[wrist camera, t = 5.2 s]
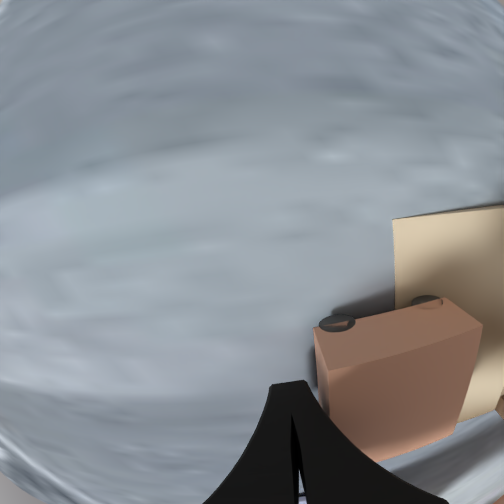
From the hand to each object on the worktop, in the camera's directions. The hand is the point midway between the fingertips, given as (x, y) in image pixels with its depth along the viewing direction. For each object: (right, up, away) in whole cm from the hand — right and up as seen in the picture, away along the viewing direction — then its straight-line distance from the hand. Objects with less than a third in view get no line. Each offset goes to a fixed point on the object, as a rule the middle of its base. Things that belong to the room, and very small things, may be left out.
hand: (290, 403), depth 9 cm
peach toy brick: (+3, +1, +1) cm, 4 cm away
